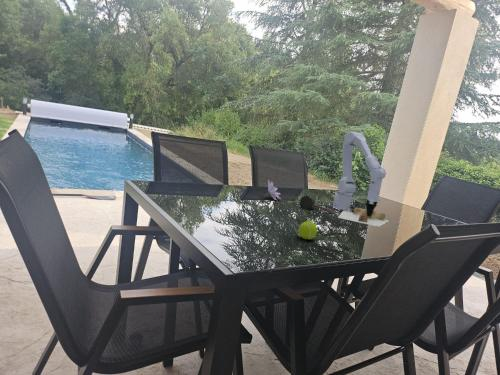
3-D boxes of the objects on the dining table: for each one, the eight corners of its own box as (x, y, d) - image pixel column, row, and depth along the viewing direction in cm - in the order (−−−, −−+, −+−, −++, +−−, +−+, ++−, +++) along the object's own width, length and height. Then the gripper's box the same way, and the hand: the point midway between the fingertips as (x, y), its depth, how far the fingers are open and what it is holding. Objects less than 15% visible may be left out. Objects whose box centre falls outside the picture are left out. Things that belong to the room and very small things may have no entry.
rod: (353, 214, 206) (354, 208, 205) (354, 213, 209) (355, 207, 208) (384, 220, 201) (385, 214, 200) (384, 219, 204) (385, 213, 203)
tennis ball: (303, 235, 153) (306, 218, 152) (318, 240, 149) (321, 223, 148) (294, 237, 148) (297, 220, 146) (309, 243, 143) (312, 225, 142)
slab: (337, 218, 192) (337, 217, 192) (343, 211, 212) (343, 210, 212) (387, 229, 184) (387, 228, 184) (388, 221, 204) (388, 220, 204)
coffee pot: (297, 206, 205) (302, 207, 212) (328, 219, 197) (332, 219, 204) (302, 193, 204) (307, 194, 212) (333, 205, 196) (337, 206, 204)
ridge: (358, 220, 191) (359, 215, 191) (359, 217, 199) (361, 212, 198) (366, 222, 190) (367, 216, 189) (367, 219, 197) (368, 214, 197)
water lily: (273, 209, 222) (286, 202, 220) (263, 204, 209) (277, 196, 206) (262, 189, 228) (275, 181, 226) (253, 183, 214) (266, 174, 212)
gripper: (381, 193, 194) (376, 219, 197) (382, 190, 208) (377, 214, 210) (367, 190, 197) (362, 216, 199) (369, 187, 210) (364, 211, 212)
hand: (369, 215), depth 205 cm, fingers open, 6 cm apart
